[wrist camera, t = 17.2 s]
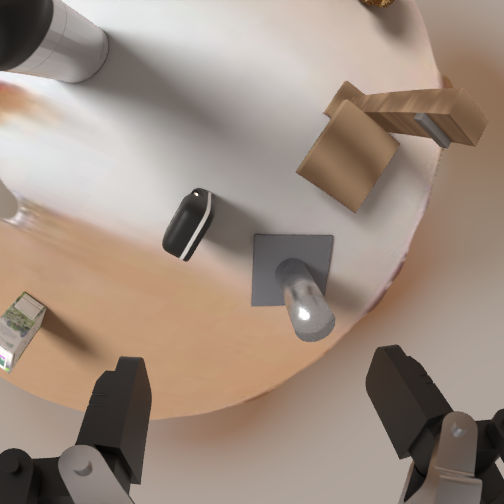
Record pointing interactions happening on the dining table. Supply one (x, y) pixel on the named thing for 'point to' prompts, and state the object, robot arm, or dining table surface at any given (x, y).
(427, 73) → the dining table surface
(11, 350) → the syrup box
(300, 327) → the steel cylinder
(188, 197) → the battery charger
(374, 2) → the stuffed squirrel
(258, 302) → the felt pad
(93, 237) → the dining table surface
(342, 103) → the walnut standard
